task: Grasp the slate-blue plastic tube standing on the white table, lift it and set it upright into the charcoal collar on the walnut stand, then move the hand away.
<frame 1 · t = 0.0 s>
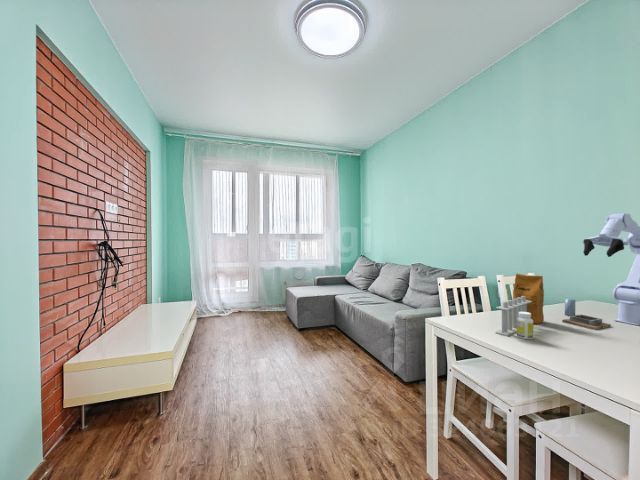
hand: (596, 254, 119), 32 cm above the table, tool tilted 50°, fingers open, 7 cm apart
test tube rack: (514, 329, 121), on the table
supplement bottle: (524, 337, 112), on the table
tube: (570, 315, 141), on the table
holder: (585, 324, 127), on the table
coffee package: (527, 320, 134), on the table
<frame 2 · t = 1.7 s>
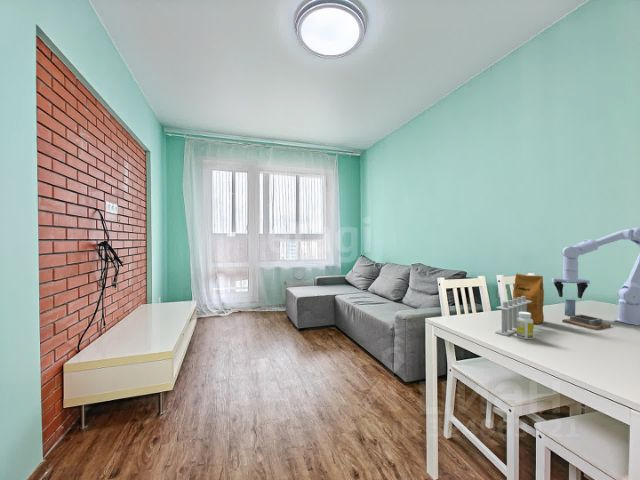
hand: (570, 297, 141), 9 cm above the table, tool pointing down, fingers open, 7 cm apart
nothing on the table moved.
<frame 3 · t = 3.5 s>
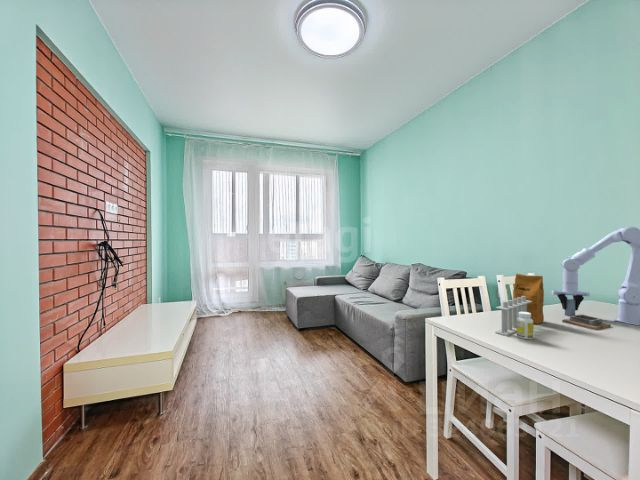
hand: (570, 309, 141), 3 cm above the table, tool pointing down, fingers closed on tube, 4 cm apart
tube: (570, 315, 141), on the table, touching gripper
everything else where it was.
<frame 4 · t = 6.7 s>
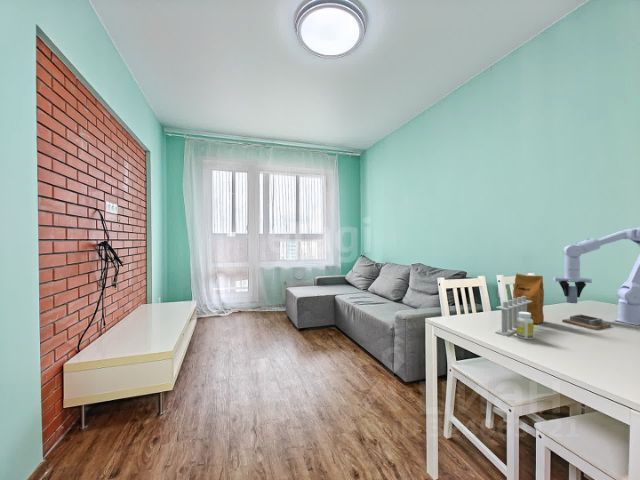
hand: (571, 296, 139), 10 cm above the table, tool pointing down, fingers closed on tube, 4 cm apart
tube: (571, 302, 139), point 7 cm above the table, touching gripper
everything else where it was.
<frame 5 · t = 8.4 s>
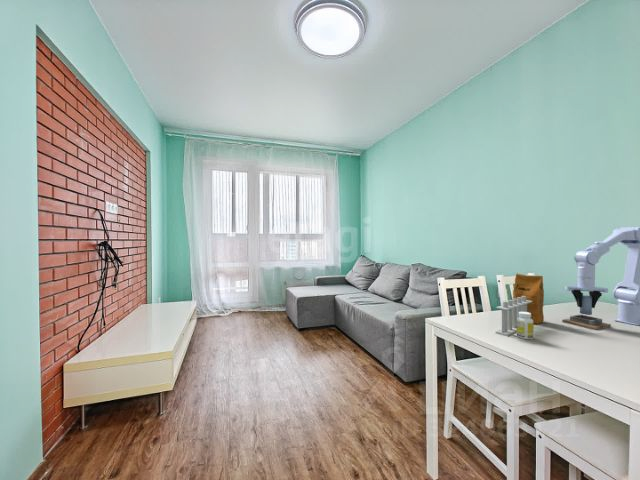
hand: (585, 307, 127), 8 cm above the table, tool pointing down, fingers closed on tube, 4 cm apart
tube: (585, 313, 127), point 5 cm above the table, touching gripper
everything else where it was.
when the fingers open (5 cm above the table, at t = 10.0 s): tube drops 1 cm, resting on holder.
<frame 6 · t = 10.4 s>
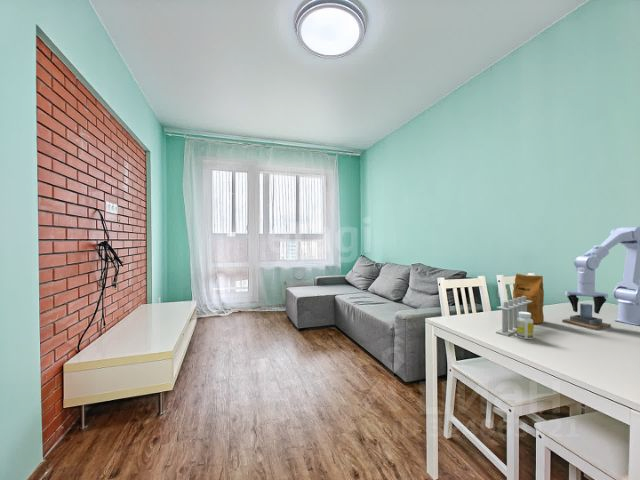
hand: (585, 312, 127), 5 cm above the table, tool pointing down, fingers open, 7 cm apart
tube: (585, 321, 127), point 1 cm above the table, touching holder
everything else where it was.
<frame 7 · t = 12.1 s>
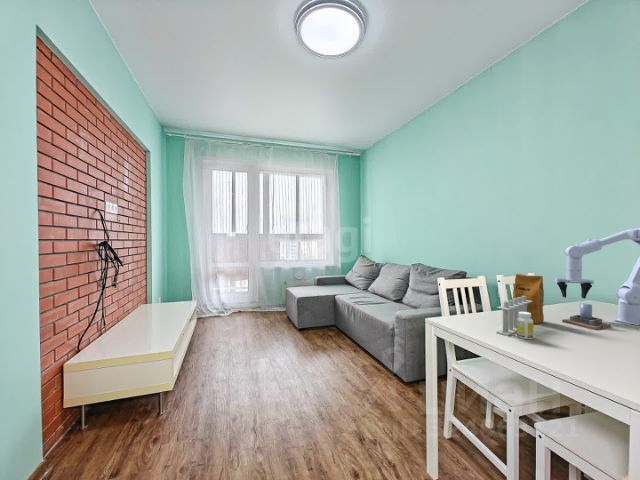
hand: (573, 297, 139), 9 cm above the table, tool pointing down, fingers open, 7 cm apart
nothing on the table moved.
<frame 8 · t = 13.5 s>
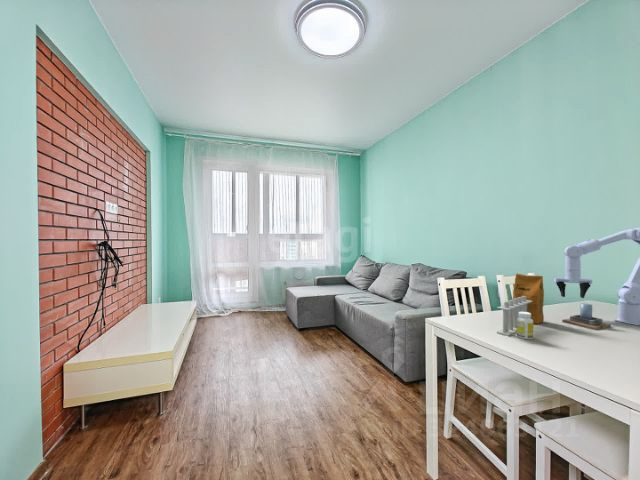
hand: (572, 297, 140), 9 cm above the table, tool pointing down, fingers open, 7 cm apart
nothing on the table moved.
at the end: tube 0.0 cm off-centre on the holder, point 1.0 cm above the holder's base; tube tilted 1°; the gripper is holding nothing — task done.
